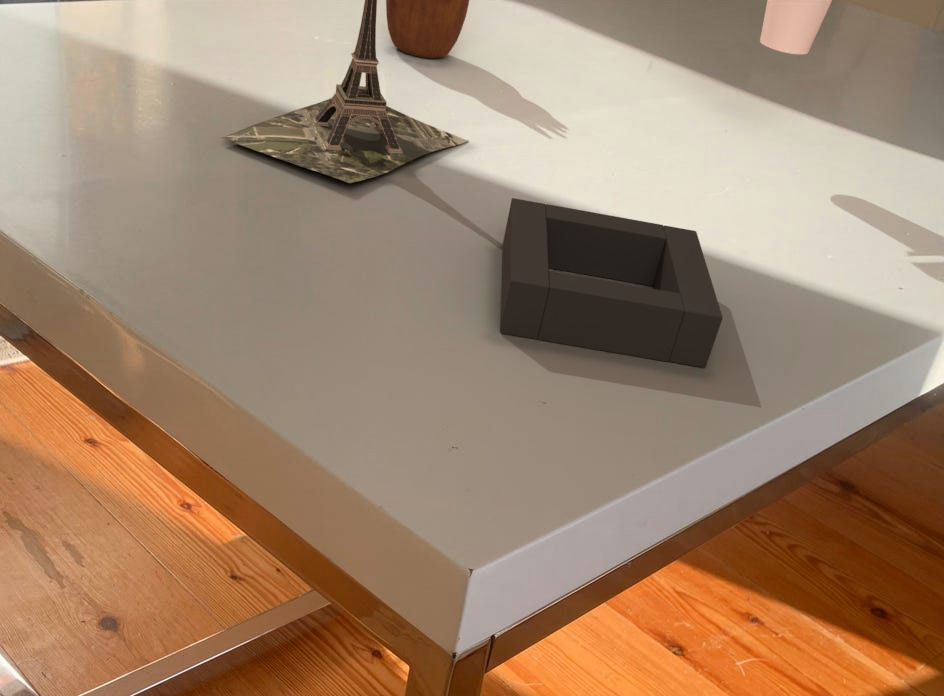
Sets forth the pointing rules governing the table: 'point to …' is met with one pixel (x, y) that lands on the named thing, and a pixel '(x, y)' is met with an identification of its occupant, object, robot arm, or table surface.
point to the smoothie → (792, 24)
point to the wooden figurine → (425, 25)
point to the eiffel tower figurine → (348, 125)
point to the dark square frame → (607, 284)
